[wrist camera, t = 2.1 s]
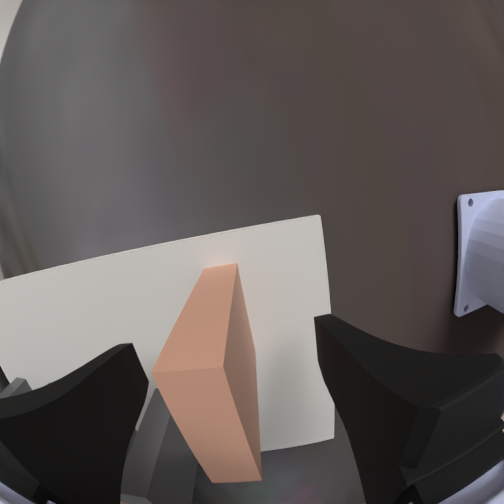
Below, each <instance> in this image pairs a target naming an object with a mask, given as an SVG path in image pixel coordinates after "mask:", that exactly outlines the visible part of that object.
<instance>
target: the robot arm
mask: <svg viewBox="0 0 504 504" xmlns="http://www.w3.org/2000/svg"><path fill="white" fill-rule="evenodd" d="M468 201H469V205H468ZM457 210H458V270H457V285H456V296H455V305H454V314H455V315H456V316H458V317H461V316H463V315H465V314H467V313H470V312H472V311H474V310H476V309H478V308H480V307H482V306H485V305H487V304H488V305H490V306H491V307H493V308H495V309H496V310H498V311H500V312H501V313H503V314H504V190H500V191H491V192H482V193H473V194H464V195H460V196H459V197H458V200H457ZM464 307H465V308H464ZM314 325H315V335H316V347H317V359H318V364H319V367H320V370H321V374H322V377H323V380H324V382H325V385H326V387H327V389H328V391H329V393H330V396H331V398H332V400H333V402H334V404H335V406H336V408H337V411H338V413H339V415H340V417H341V419H342V421H343V423H344V426H345V429H346V431H347V434H348V437H349V440H350V443H351V447H352V450H353V453H354V457H355V460H356V464H357V468H358V471H359V475H360V479H361V483H362V487H363V491H364V496H365V500H366V504H504V432H503V431H502V430H503V429H504V422H503V420H502V419H501V418H500V416H501V414H502V412H503V410H504V359H503V358H501V357H500V356H499V355H498V354H496V353H495V354H481V355H448V354H438V353H431V352H425V351H420V350H415V349H410V348H407V347H403V346H400V345H396V344H393V343H390V342H387V341H385V340H382V339H380V338H377V337H375V336H372V335H370V334H368V333H366V332H364V331H362V330H360V329H358V328H356V327H354V326H352V325H350V324H348V323H346V322H345V321H343V320H341V319H339V318H337V317H336V316H334V315H332V314H330V313H329V314H325V315H320V316H316V317H314ZM148 386H149V380H148V378H147V376H146V374H145V371H144V369H143V367H142V365H141V362H140V360H139V358H138V355H137V353H136V351H135V348H134V346H133V343H123V344H118V345H116V346H114V347H112V348H110V349H109V350H107V351H105V352H103V353H102V354H100V355H99V356H97V357H95V358H94V359H92V360H91V361H89V362H88V363H86V364H84V365H83V366H81V367H79V368H78V369H76V370H74V371H73V372H71V373H69V374H67V375H66V376H64V377H62V378H60V379H58V380H56V381H54V382H52V383H50V384H47V385H45V386H43V387H40V388H37V389H35V390H32V391H29V392H26V393H23V394H19V395H15V396H11V397H6V398H0V504H120V496H121V483H122V476H123V469H124V464H125V459H126V454H127V450H128V446H129V443H130V440H131V437H132V435H133V432H134V430H135V427H136V424H137V422H138V419H139V417H140V414H141V411H142V409H143V406H144V403H145V400H146V396H147V391H148Z"/></svg>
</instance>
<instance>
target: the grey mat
mask: <svg viewBox="0 0 504 504" xmlns="http://www.w3.org/2000/svg"><path fill="white" fill-rule="evenodd" d="M232 263H237V265H238V270H239V275H240V280H241V285H242V290H243V294H244V299H245V304H246V309H247V314H248V318H249V323H250V328H251V333H252V337H253V342H254V347H255V351H256V370H257V390H258V410H259V430H260V449H261V451H269V450H276V449H283V448H289V447H295V446H300V445H306V444H311V443H315V442H320V441H324V440H328V439H332V438H334V402H333V400H332V398H331V396H330V393H329V391H328V389H327V387H326V385H325V382H324V380H323V377H322V374H321V370H320V367H319V364H318V359H317V347H316V335H315V325H314V317H316V316H320V315H325V314H329V313H330V314H331V308H330V296H329V285H328V274H327V265H326V256H325V247H324V239H323V231H322V224H321V217H320V215H313V216H307V217H301V218H295V219H289V220H283V221H278V222H272V223H266V224H260V225H255V226H249V227H244V228H238V229H233V230H228V231H222V232H217V233H212V234H207V235H201V236H196V237H191V238H186V239H181V240H176V241H171V242H166V243H161V244H156V245H152V246H147V247H142V248H137V249H132V250H128V251H123V252H119V253H114V254H109V255H105V256H100V257H96V258H91V259H87V260H83V261H78V262H74V263H70V264H65V265H61V266H57V267H53V268H49V269H44V270H40V271H36V272H32V273H28V274H24V275H20V276H16V277H12V278H8V279H5V280H1V281H0V366H1V368H2V370H3V372H4V373H5V375H6V377H7V379H8V381H9V382H10V383H11V382H12V381H13V380H14V379H15V378H16V377H18V378H23V379H26V380H27V382H28V384H29V386H30V387H31V389H32V390H35V389H37V388H40V387H43V386H45V385H47V384H48V383H52V382H54V381H56V380H58V379H60V378H62V377H64V376H66V375H67V374H69V373H71V372H73V371H74V370H76V369H78V368H79V367H81V366H83V365H84V364H86V363H88V362H89V361H91V360H92V359H94V358H95V357H97V356H99V355H100V354H102V353H103V352H105V351H107V350H109V349H110V348H112V347H114V346H116V345H118V344H123V343H133V346H134V348H135V351H136V353H137V355H138V358H139V360H140V362H141V365H142V367H143V369H144V371H145V374H146V376H147V378H148V380H149V386H148V391H147V396H146V400H145V403H144V406H143V409H142V411H141V414H140V417H139V419H138V422H137V424H136V427H135V429H136V430H137V431H138V429H139V426H140V424H141V421H142V419H143V416H144V414H145V412H146V409H147V407H148V404H149V402H150V399H151V397H152V395H153V392H154V390H155V388H158V387H157V384H156V382H155V380H154V378H153V376H152V373H151V371H152V369H153V367H154V365H155V363H156V361H157V359H158V357H159V355H160V353H161V351H162V349H163V347H164V345H165V343H166V341H167V339H168V337H169V335H170V333H171V331H172V329H173V327H174V325H175V323H176V321H177V319H178V317H179V315H180V313H181V311H182V309H183V307H184V305H185V303H186V302H187V300H188V298H189V296H190V294H191V292H192V290H193V288H194V286H195V284H196V283H197V281H198V279H199V277H200V275H201V273H202V271H203V269H204V268H210V267H215V266H221V265H227V264H232Z"/></svg>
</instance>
